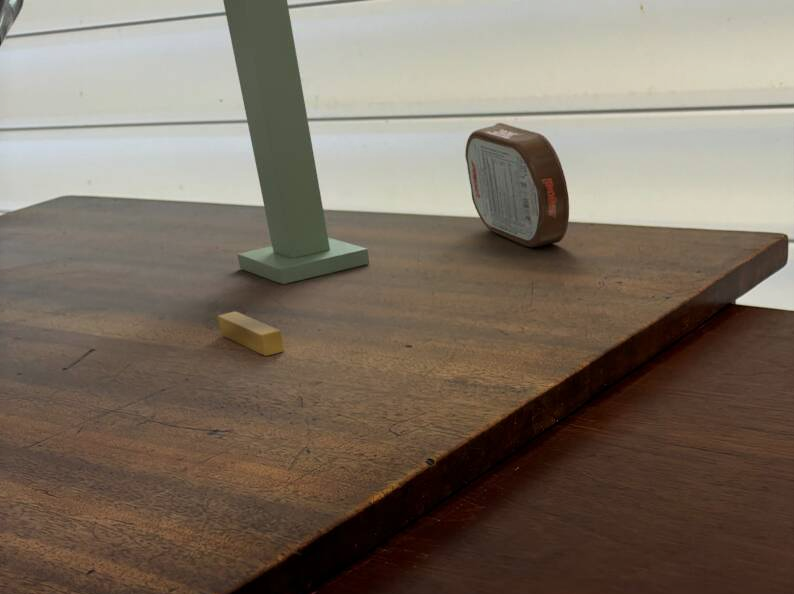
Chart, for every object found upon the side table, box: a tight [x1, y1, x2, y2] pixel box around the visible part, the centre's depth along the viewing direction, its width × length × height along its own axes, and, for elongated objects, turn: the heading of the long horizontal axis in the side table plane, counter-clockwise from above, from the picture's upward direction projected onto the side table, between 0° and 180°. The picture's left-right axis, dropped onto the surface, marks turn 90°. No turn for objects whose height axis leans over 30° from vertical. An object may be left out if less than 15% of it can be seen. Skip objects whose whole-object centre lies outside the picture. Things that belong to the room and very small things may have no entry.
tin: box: [465, 122, 570, 248], centre depth 98 cm, size 15×3×8 cm, turn 27°
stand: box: [222, 0, 370, 285], centre depth 88 cm, size 15×8×31 cm, turn 37°
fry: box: [217, 310, 285, 357], centre depth 80 cm, size 7×1×1 cm, turn 37°
